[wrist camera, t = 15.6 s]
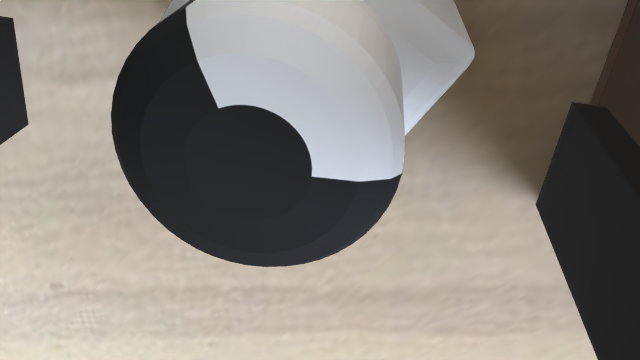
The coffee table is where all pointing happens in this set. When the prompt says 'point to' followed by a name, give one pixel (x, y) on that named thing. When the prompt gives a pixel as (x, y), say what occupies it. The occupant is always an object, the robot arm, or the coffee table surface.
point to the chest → (623, 74)
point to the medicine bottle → (280, 118)
